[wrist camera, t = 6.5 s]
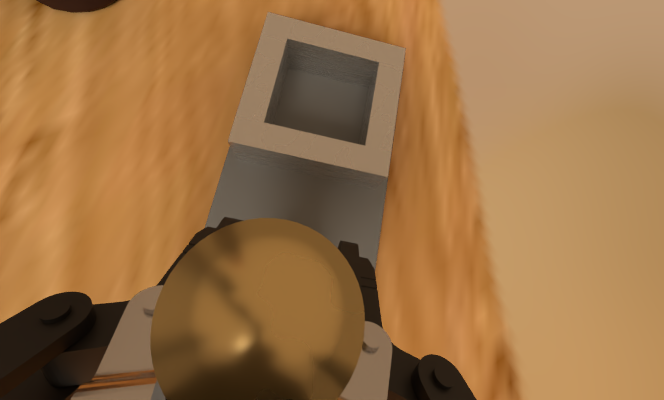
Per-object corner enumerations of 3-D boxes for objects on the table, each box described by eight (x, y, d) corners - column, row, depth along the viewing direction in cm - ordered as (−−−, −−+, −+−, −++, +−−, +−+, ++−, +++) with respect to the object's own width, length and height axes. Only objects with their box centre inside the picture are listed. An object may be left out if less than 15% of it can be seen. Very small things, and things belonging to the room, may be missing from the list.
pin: (235, 265, 15) (130, 255, 5) (306, 241, 16) (326, 194, 6) (257, 341, 14) (178, 491, 4) (329, 311, 15) (395, 383, 5)
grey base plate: (348, 426, 15) (351, 437, 14) (159, 398, 14) (149, 408, 13) (400, 62, 21) (405, 53, 20) (270, 29, 20) (269, 17, 19)
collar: (374, 189, 17) (387, 177, 15) (237, 159, 16) (227, 141, 14) (391, 75, 19) (405, 48, 17) (271, 44, 19) (268, 11, 16)
